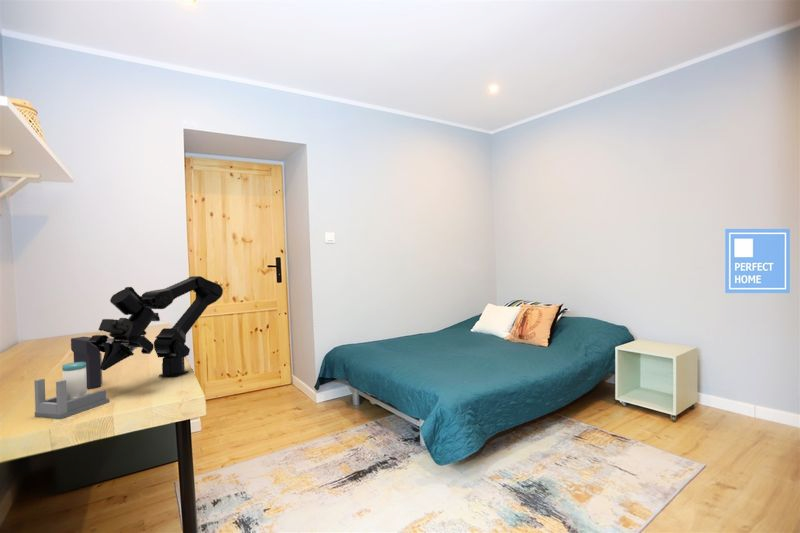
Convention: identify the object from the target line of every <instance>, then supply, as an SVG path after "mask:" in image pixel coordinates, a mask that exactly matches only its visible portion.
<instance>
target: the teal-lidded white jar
mask: <svg viewBox="0 0 800 533" xmlns="http://www.w3.org/2000/svg"><path fill="white" fill-rule="evenodd" d="M61 367H62V370H61V371H62V380H66V389H67V401H69V400H72V399H75V398H79V397H82V396H85V395H88V394H91V392H88V388H87V378H86V362H74V361H73V362H69V363H66V364H62V365H61Z"/></svg>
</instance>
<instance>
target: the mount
mask: <svg viewBox="0 0 800 533" xmlns="http://www.w3.org/2000/svg"><path fill="white" fill-rule="evenodd" d="M45 379H46V378H39V379H35V380H34V383H33V384H34V406H35V407H34V410H35V412H34V417H38V418H48V419H58V420H60V419H61V420H63V419H66V418H68V417H71V416H74V415H76V414H79V413H82V412H85V411H88V410H90V409H93V408H96V407H99V406H102V405H105V404H107V403H110V398H109V397H107V390H106V389H101V390H98V391H95V392H90V394H88V395H85V396H82V397H79V398H75V399H72V400H69V401H67V389H66V380H63V379H62V380H61V379H60V380H57V381H55V388H56V389H55V393H56V396H53V397H50V398H46V380H45Z"/></svg>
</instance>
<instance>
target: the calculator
mask: <svg viewBox="0 0 800 533" xmlns="http://www.w3.org/2000/svg"><path fill="white" fill-rule="evenodd" d="M91 337H92V336H91ZM91 337H90V336H89V337H88V336H79V337H72V338H70V349H71V352H73V363H74V362H86V378H87V390H93V389H97V388H100V387H101V386H102V385H103V370H101V369H100V367H101V364H102V360H103V358H102V353H101V351H100V350H98V349H97V348H96V347H95V346H93V345H92V344H91V343H89V342H88V341H89V340H90V338H91Z"/></svg>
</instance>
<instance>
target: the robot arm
mask: <svg viewBox="0 0 800 533" xmlns="http://www.w3.org/2000/svg"><path fill="white" fill-rule="evenodd" d="M189 292H194V293H195V300H194V301H193V302H192V303H191V304H190V306H189V307H188V308H187V309H186V310H185V311H184V313H183V314H182V315H181V317H180V318H179V319H178V320H177V321H176V322H175V324H174V325H173V326H172V327H171V328H170V327H165V328H162V329H161V330H160V332H159V333H158V334H157V336H155V337H154V338H155V340H154V341H153V342H152V341H150V339H148V338H147V337H146V335H147V332H146V330H147V328H148V327H149V325H150V324H151V322H160V321H161V319H160V318H161V317H160V315H159V312H155V311H154V310H164V309H166V308H168V307H169V306H170V305H172V303H173V302H174V301H175V299H177V298H179V297H182V296H183V295H185V294H187V293H189ZM223 293H224V291H223V287H222V285H221V284H218V283H216V282H215V281H214V282H213V281H212V280H208V279H206V278H205V277H202V276H200V275H197V276H196V275H195V276H194V275H193V276H189V277H187V278H186V279H184V280H182V281H179V282H177V283H174V284H173V285H169V286H168V287H166V288H162V289H155V290H154V289H153V290H150V291H145V292H143V293H142V295H139V294H138V293H137V292H136V290H135V289H134V288H133V286H126V287H124V289H122V290H120V291H118V292H115V293H114V294H113V295H112V296H111V298H110V300H109V302H110V303H111V304H112V306H114V307H115V308H116V309H118V311H120V313H122V314H123V315H125V316H129V317H128V318H127V317H120V318H119V319H115V318H114V319H113V318H103V319H102V320H101V322H100V325H99V328H98V330H97V331H101V332H106V333H109V334H108V336H107V334H94V335H92V336H91V338H90V340H89V341H88V342H89V343H91V344H92V345H93V346H95V347H96V348H97V349H98V350H100V353H101V352H102V353H104V355H103V358H102V364H101V367H100V369H101V370H102V371H107V370H108V369H110V368H111V367H113V366H114V365H116V364H118V363H120V362H122V361H124V360H125V359H127V358H129V357H131V356H134V355H135V353H134V351H135V350H137V348H141V350H140V351H141V354H142V355H143V354H144V355H150V354H151V353H152V352H153V350H154V351H155V353H156V356H157V358H162V363H161V370H162V371H161V374H158V377H163V378H164V377H165V378H167V377H169V378H176V377H179V376H181V374H182V375H185V374H187V373H189V372H190V371H189V370H186V369H185V358H187V356H189V355H190V350H191V349H190V347H188V346H187V345H186V342H187V341H186V339H187V334H188V332H189V331H190V330H191V329H192V327H193V325H195V323H196V322H197V321H198V319H199V318H200V317H201V315H203V313H204V311H205V310H206V309H207V308H208V306H211V305H212V304H214V303H216V302H217V301H218V300H219V299H221V297H222V296H223ZM109 336H110V337H109ZM186 372H187V373H186ZM178 375H179V376H178Z"/></svg>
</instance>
